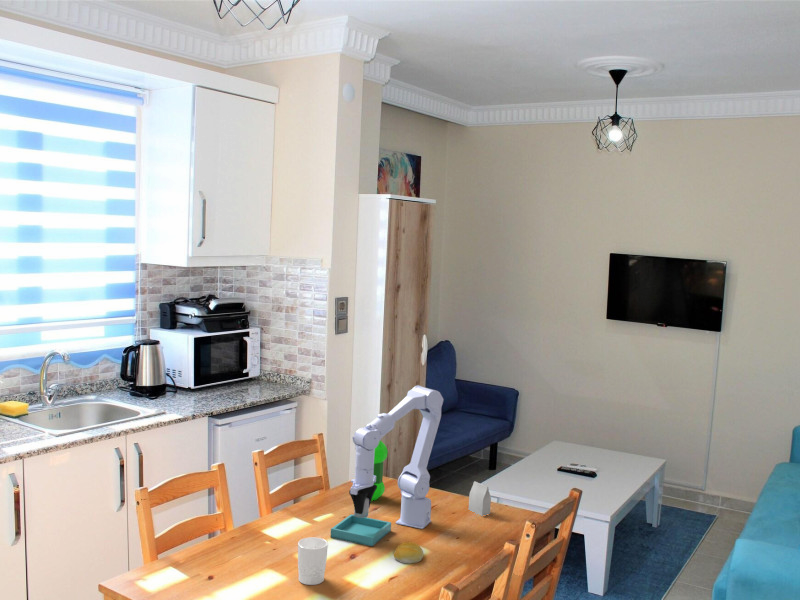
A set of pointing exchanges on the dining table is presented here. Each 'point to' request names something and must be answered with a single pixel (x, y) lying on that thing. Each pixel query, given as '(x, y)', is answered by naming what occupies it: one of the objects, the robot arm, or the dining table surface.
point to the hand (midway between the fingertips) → (362, 510)
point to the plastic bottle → (379, 469)
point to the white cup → (312, 560)
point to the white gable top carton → (479, 499)
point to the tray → (361, 530)
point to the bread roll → (408, 553)
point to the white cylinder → (365, 510)
